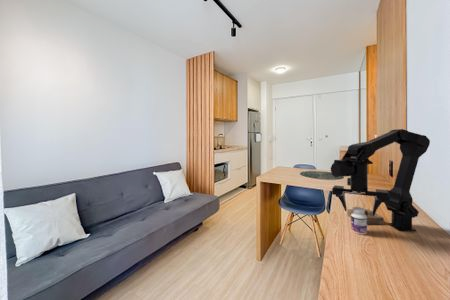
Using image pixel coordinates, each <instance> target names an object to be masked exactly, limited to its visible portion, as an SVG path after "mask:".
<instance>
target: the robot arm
mask: <svg viewBox="0 0 450 300" xmlns="http://www.w3.org/2000/svg"><path fill="white" fill-rule="evenodd" d="M393 143H395V144H398V145H399V150H400V153H401V159H400V163H399V167H398V170H397V173H396V178H395V180H394V185H393V186H392V188H391V189H389V190H388V189H378V188H376V189H375V191H374V190H369V186H368V184H369V183H368V178H369V177H368V174H369V173H368V172H369V171H368V166H369V165H373V161H372V160H370V159H369V158H370V157H372V156H374V155H375V154H376V151H378V150H380V149H383V148H385V147H387V146H390V145H391V144H393ZM430 143H431V141H430V139H429V138H428V137H427V136H426V135H424V134H421V133H420V134H419V133H415V132H412V131H408V130H407V129H403V128H399V129H391V130H390V131H388V132H386V133H383V134H381V135H379V136H377V137H375V138H372V139H370V140H367V141H364V142H358V143H353V144H350V145H349V146H348V147H347V150H346V151H345V153H344V155H343V156H342V158H341V159H334V160H333V163H332V164H331V166H330V173H331V175H332V176H333V177H335V178H341V177H342V178H343V177H347V181H346V183H347V184H346V185H347V186H350V188H345V187H344V185H334V186H332V189H331V194H332V195H334V196H335V197H337V198H338V200H339V201H340V202H341V204H342V207H343V209H344V211H345V212H347V209H348V208H347V202H346V194H349V195H359V196H360V195H361V196H369V197H374V201H373V206H372V211H373V216H374V215H375V213H376V212H377V210H378V209H379V207H380V205H381V204H382V203H383V204H384V205H385V208H386V209H387V211H390V212H391V222H388V223H387V224H388V226H391V227H393V228H394V229H396V230H397V231H399V232H402V231H403V232H405V231H406V232H417V229H416V228H415V227H413V219H414V218H416V217H418V216H419V213H420V212H419V210H418V209H417V207H415V206H414V205H413V196H412V194H411V192H410V191H411V187H412V183H413V180H414V176H415V173H416V170H417V166H418V162H419V160H420V157H421V156H423V155H424V154H425V153H426V152H427V151H428V148H429V147H430ZM376 214H377V213H376Z"/></svg>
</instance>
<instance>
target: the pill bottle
mask: <svg viewBox="0 0 450 300" xmlns="http://www.w3.org/2000/svg"><path fill="white" fill-rule="evenodd" d="M352 209H353V213H351V218H350V226H351V227H350V228H351V232H353V233H354V234H357V235H361V236H362V235H363V236H364V235H367V234H368V224H367V216H366V214H364V213H365V209H366V208H363V207H360V206H353V207H352Z"/></svg>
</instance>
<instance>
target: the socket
mask: <svg viewBox="0 0 450 300" xmlns="http://www.w3.org/2000/svg"><path fill="white" fill-rule="evenodd" d="M364 209H365V213H364V214H366V216H367V225H385V223H384V219H385V218H384V217H383V216H382V215H380V214H378V213H375V215H374V216H373V210H371V209H370V208H369V209H366V208H364ZM346 212H347V213H346V214H347V216H348V217H349V218H350V219H351V213H353V208H352V209H350V208H347V211H346Z"/></svg>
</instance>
